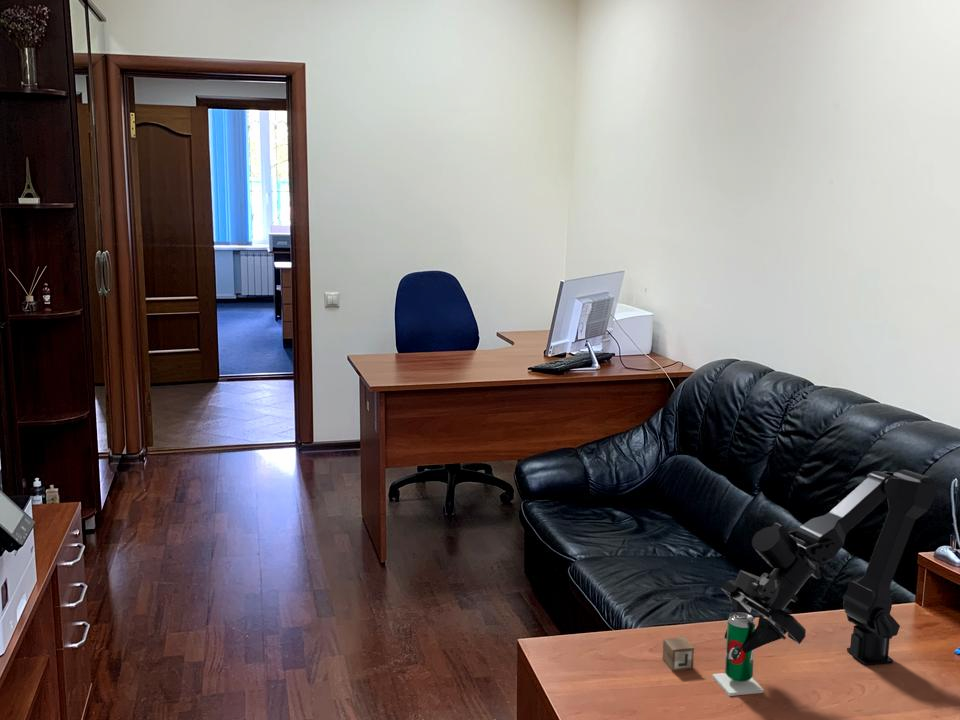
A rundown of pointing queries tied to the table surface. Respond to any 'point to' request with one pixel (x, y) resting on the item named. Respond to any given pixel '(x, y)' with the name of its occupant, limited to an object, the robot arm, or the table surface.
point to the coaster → (737, 685)
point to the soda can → (739, 647)
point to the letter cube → (678, 653)
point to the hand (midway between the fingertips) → (734, 645)
